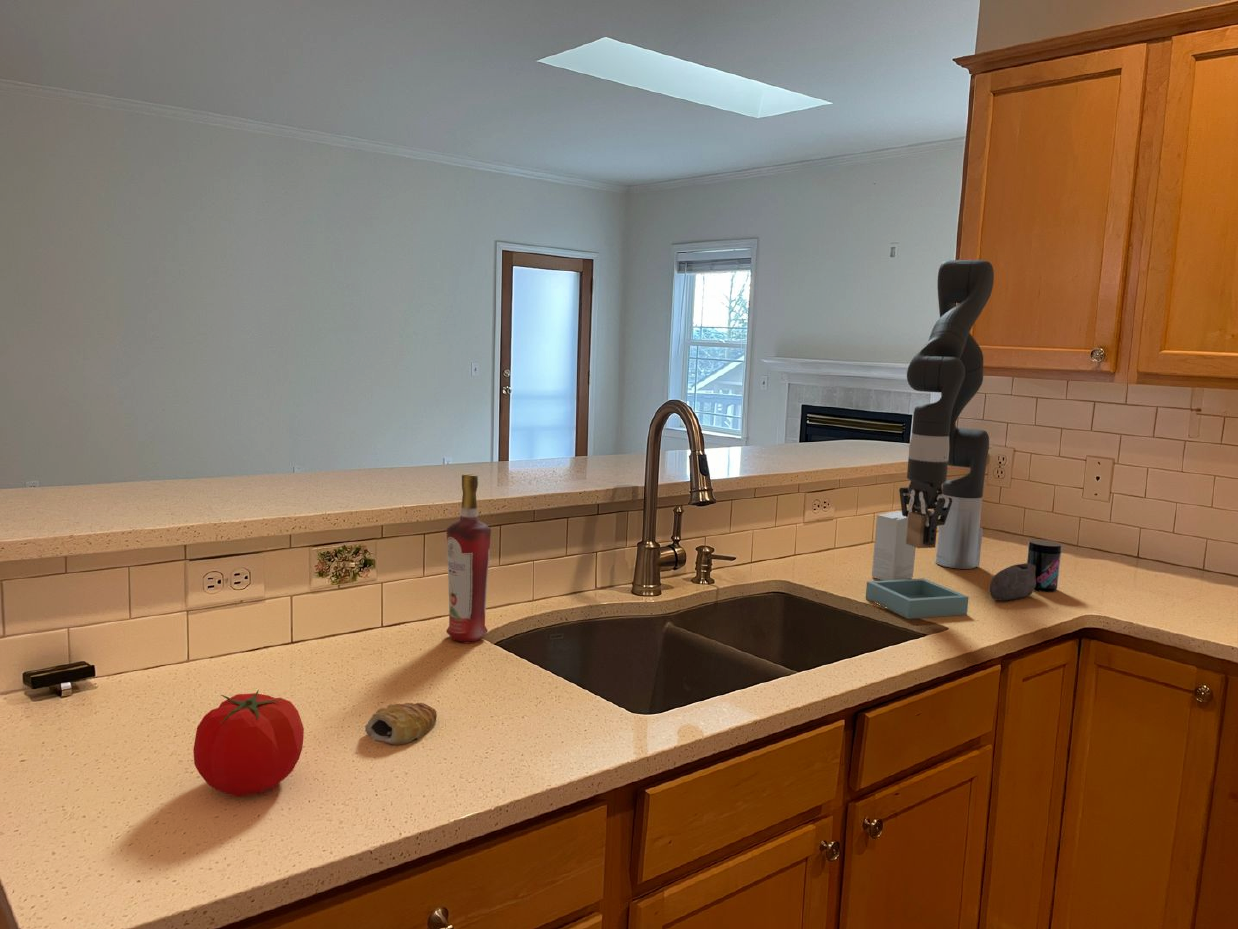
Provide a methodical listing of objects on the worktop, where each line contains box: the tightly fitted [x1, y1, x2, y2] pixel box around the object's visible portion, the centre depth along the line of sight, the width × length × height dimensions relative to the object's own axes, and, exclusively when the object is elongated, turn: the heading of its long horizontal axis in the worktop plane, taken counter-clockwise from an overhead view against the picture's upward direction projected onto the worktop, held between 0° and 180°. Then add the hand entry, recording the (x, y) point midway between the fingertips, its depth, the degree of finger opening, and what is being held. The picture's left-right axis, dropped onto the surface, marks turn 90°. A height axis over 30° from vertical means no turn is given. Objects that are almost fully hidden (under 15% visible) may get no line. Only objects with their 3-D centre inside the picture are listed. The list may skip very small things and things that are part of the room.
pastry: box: [364, 702, 438, 746], centre depth 118 cm, size 9×7×4 cm
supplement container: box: [1026, 538, 1063, 593], centre depth 202 cm, size 7×7×10 cm
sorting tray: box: [865, 577, 969, 620], centre depth 184 cm, size 14×14×4 cm
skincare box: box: [871, 510, 917, 581], centre depth 205 cm, size 8×6×15 cm
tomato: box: [192, 689, 305, 798], centre depth 102 cm, size 12×12×10 cm
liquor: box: [446, 473, 492, 643], centre depth 152 cm, size 7×7×28 cm
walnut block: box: [906, 511, 938, 549], centre depth 182 cm, size 4×4×7 cm
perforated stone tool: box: [988, 562, 1036, 602], centre depth 193 cm, size 15×5×7 cm, turn 124°
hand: (920, 541), depth 182 cm, fingers closed on walnut block, 4 cm apart
